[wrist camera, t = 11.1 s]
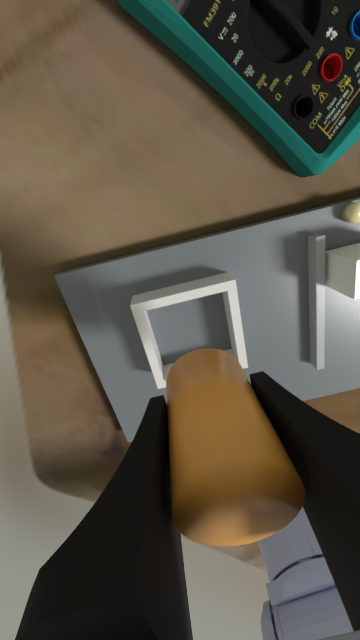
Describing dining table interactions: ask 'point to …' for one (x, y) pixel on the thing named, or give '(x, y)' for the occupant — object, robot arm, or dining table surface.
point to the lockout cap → (225, 455)
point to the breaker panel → (223, 308)
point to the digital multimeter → (273, 66)
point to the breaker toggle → (343, 270)
